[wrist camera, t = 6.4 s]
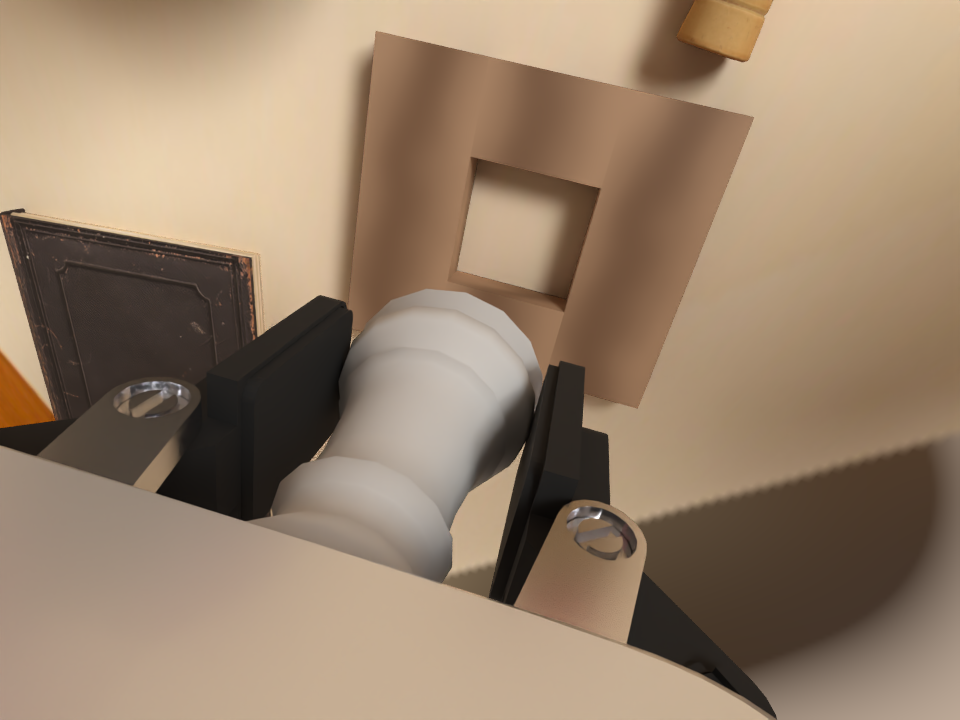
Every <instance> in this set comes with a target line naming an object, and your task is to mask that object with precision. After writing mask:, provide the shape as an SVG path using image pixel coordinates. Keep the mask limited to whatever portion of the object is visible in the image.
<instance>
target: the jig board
mask: <svg viewBox="0 0 960 720" xmlns="http://www.w3.org/2000/svg"><path fill="white" fill-rule="evenodd" d="M753 119H754V117H750V116H746V115H742V114H737V113H733V112H728V111H724V110H720V109H715V108H711V107H707V106H702V105H698V104H693V103H689V102H685V101H680V100H676V99H672V98H667V97H663V96H658V95H654V94H650V93H645V92H641V91H637V90H632V89H628V88H623V87H619V86H615V85H610V84H606V83H602V82H597V81H593V80H588V79H584V78H580V77H575V76H571V75H566V74H562V73H558V72H553V71H549V70H545V69H540V68H536V67H531V66H527V65H523V64H518V63H514V62H510V61H505V60H501V59H496V58H492V57H488V56H483V55H479V54H475V53H470V52H466V51H461V50H457V49H453V48H448V47H444V46H439V45H435V44H431V43H426V42H422V41H418V40H413V39H409V38H404V37H400V36H396V35H391V34H387V33H383V32H378V31H376V34H375V44H374V54H373V64H372V74H371V83H370V93H369V103H368V113H367V123H366V133H365V143H364V153H363V162H362V172H361V182H360V192H359V202H358V212H357V222H356V232H355V242H354V251H353V261H352V271H351V281H350V291H349V301H348V309H349V310H352V312H353V324H352V329H355V330H359V331H362V332H363V330H364V328H365V325H366V323H367V322H368V321H369V320H370V319H372V318H373V317H374V316H375V315H376V314H377V313H378V312H379V311H380V310H381V309H382V308H383V307H384V306H385V305H386V304H388V303H389V302H390V301H391V300H393V299H396V298H400V297H403V296H406V295H409V294H412V293H415V292H418V291H421V290H425V289H433V290H444V291H455V292H465V293H468V294H470V295H472V296H474V297H476V298H478V299H480V300H482V301H484V302H486V303H488V304H490V305H492V306H494V307H496V308H498V309H500V310H502V311H504V312H505V314H506V315H507V316H508V317H509V318H510V319H511V320H512V321H513V322H514V324H515V325H516V326H517V327H518V328H519V329H520V330H521V331H522V332H523V333H524V335H525V336H526V337H527V338H528V339H529V340H530V341H531V344H532V347H533V350H534V353H535V356H536V358H537V361H538V364H539V367H540V370H541V372H542V375H543V381H542V382H544V379H545V376H546V372H547V369H548V366H549V364H550V365H554V366H558V365H559V363H560V361H564V362H568V363H572V364H575V365H579V366H583V367H585V382H584V394H588V395H591V396H595V397H599V398H602V399H606V400H609V401H613V402H617V403H620V404H624V405H627V406H631V407H634V408H638V406H639V404H640V401H641V399H642V396H643V394H644V391H645V389H646V386H647V384H648V382H649V379H650V377H651V374H652V372H653V369H654V367H655V364H656V362H657V359H658V357H659V354H660V352H661V349H662V347H663V344H664V342H665V339H666V337H667V334H668V332H669V329H670V327H671V324H672V322H673V319H674V317H675V314H676V312H677V309H678V307H679V304H680V302H681V299H682V297H683V294H684V292H685V289H686V287H687V284H688V282H689V279H690V277H691V274H692V272H693V269H694V267H695V264H696V262H697V259H698V257H699V254H700V252H701V249H702V247H703V244H704V242H705V239H706V237H707V234H708V232H709V229H710V227H711V224H712V222H713V219H714V217H715V214H716V212H717V209H718V207H719V204H720V202H721V199H722V197H723V194H724V192H725V189H726V187H727V184H728V182H729V179H730V177H731V174H732V172H733V169H734V167H735V164H736V162H737V159H738V157H739V154H740V152H741V149H742V147H743V144H744V142H745V139H746V137H747V134H748V132H749V129H750V127H751V124H752V122H753ZM478 158H479V159H483V160H487V161H491V162H495V163H499V164H503V165H507V166H511V167H515V168H519V169H523V170H527V171H531V172H536V173H540V174H544V175H548V176H552V177H556V178H560V179H564V180H568V181H572V182H576V183H580V184H584V185H589V186H593V187H597V188H599V192H598V195H597V199H596V202H595V205H594V209H593V212H592V215H591V219H590V222H589V226H588V229H587V232H586V236H585V239H584V242H583V246H582V249H581V252H580V256H579V259H578V263H577V266H576V269H575V273H574V276H573V279H572V283H571V286H570V289H569V293H568V296H567V300H566V299H562V298H559V297H555V296H551V295H547V294H544V293H540V292H536V291H532V290H528V289H525V288H521V287H517V286H513V285H510V284H506V283H502V282H498V281H495V280H491V279H487V278H483V277H479V276H476V275H472V274H468V273H464V272H461V271H457V266H458V261H459V255H460V250H461V245H462V240H463V235H464V229H465V224H466V219H467V214H468V209H469V204H470V198H471V193H472V188H473V183H474V178H475V173H476V167H477V162H478Z"/></svg>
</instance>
